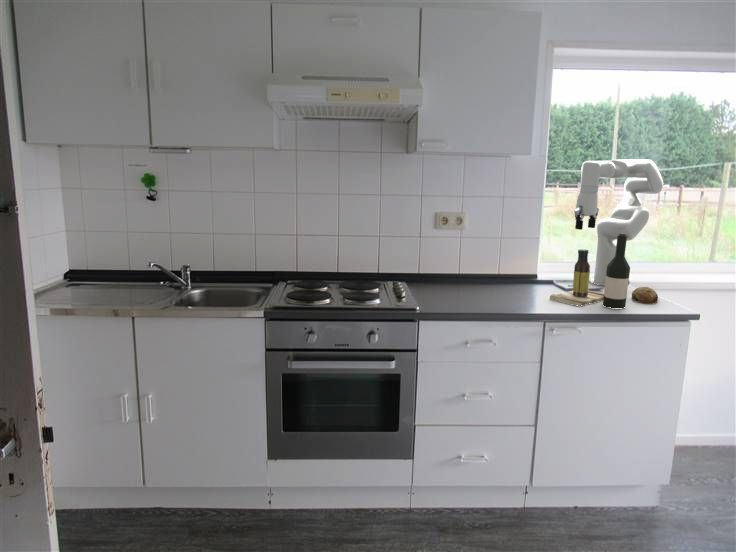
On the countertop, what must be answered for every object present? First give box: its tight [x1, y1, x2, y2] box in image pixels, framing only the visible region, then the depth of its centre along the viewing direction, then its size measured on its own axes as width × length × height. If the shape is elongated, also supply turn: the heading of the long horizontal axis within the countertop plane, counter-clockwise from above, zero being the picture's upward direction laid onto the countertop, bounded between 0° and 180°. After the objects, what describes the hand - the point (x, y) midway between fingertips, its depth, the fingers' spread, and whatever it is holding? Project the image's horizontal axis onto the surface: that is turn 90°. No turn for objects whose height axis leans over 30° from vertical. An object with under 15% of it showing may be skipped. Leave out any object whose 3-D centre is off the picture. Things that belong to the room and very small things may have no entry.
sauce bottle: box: [572, 248, 591, 297], centre depth 215 cm, size 6×6×20 cm
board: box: [549, 290, 604, 307], centre depth 217 cm, size 22×14×2 cm, turn 125°
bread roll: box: [631, 286, 659, 305], centre depth 215 cm, size 10×10×8 cm
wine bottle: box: [602, 233, 631, 309], centre depth 203 cm, size 8×8×30 cm
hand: (585, 228), depth 228 cm, fingers open, 9 cm apart
